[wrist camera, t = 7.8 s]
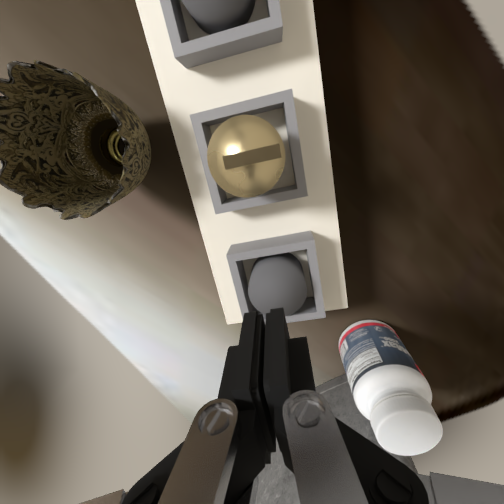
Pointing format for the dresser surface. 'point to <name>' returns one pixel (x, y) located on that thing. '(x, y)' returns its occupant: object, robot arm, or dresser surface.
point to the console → (280, 117)
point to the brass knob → (246, 156)
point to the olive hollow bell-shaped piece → (67, 141)
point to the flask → (343, 407)
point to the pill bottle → (389, 388)
